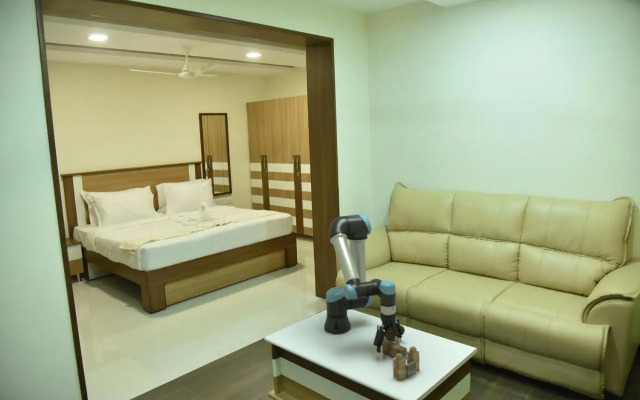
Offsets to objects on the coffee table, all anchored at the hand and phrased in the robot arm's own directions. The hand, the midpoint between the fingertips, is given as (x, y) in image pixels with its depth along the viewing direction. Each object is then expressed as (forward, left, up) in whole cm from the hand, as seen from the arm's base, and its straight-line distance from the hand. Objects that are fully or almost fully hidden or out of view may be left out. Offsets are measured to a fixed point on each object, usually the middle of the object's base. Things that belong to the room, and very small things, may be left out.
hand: (389, 353), depth 221 cm
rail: (+2, 0, 0) cm, 2 cm away
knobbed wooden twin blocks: (+18, -8, 0) cm, 20 cm away
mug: (-8, +14, 0) cm, 17 cm away
